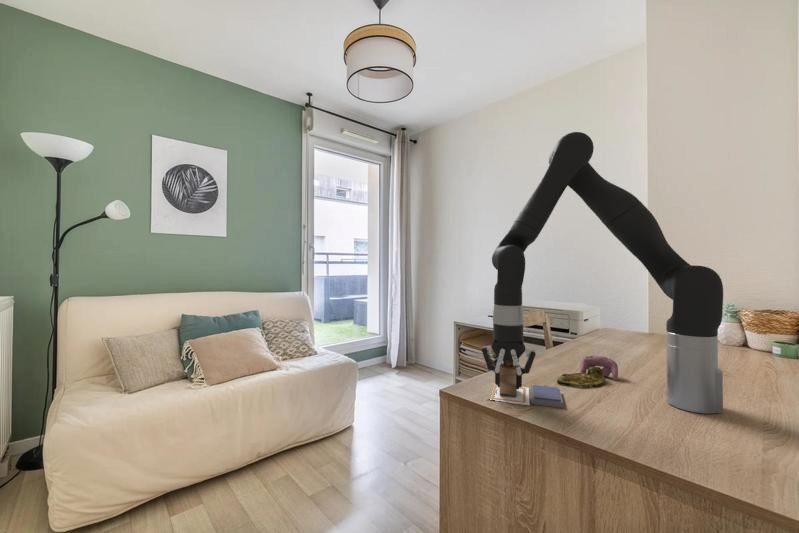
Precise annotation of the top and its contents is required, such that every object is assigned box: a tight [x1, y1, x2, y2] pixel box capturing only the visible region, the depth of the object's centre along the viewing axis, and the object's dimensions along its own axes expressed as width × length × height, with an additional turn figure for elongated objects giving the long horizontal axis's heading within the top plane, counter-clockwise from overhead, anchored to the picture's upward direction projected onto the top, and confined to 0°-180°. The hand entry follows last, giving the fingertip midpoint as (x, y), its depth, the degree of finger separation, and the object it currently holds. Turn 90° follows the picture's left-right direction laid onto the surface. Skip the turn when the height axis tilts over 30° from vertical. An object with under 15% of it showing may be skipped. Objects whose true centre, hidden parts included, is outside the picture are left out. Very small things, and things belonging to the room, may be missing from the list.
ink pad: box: [530, 384, 565, 409], centre depth 86 cm, size 7×10×2 cm
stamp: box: [500, 361, 517, 397], centre depth 89 cm, size 4×6×8 cm, turn 160°
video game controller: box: [579, 355, 619, 381], centre depth 103 cm, size 10×5×7 cm, turn 56°
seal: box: [556, 366, 606, 389], centre depth 98 cm, size 9×5×15 cm
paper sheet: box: [489, 383, 530, 406], centre depth 89 cm, size 10×12×1 cm
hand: (508, 387), depth 89 cm, fingers closed on stamp, 4 cm apart
